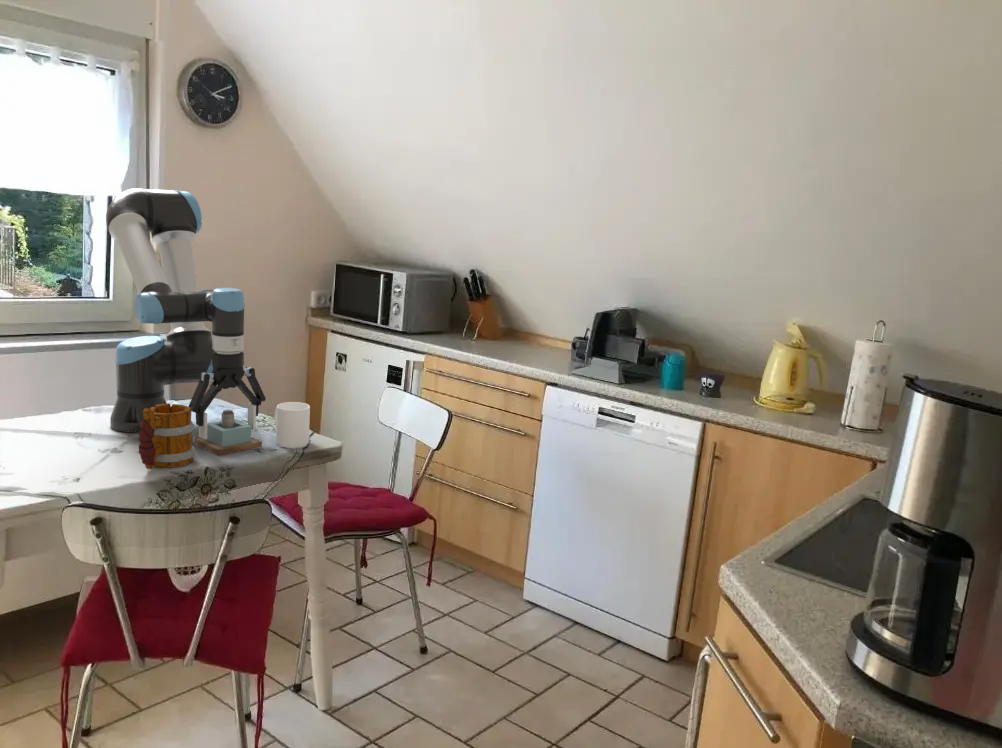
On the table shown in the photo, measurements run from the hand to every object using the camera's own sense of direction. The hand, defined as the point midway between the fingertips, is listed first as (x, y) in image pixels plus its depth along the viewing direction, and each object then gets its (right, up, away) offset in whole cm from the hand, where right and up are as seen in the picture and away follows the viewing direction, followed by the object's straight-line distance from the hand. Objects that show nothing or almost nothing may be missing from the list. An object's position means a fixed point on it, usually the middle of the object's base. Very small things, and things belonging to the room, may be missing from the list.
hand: (227, 433), depth 216 cm
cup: (+14, -3, +7) cm, 16 cm away
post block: (0, -3, +1) cm, 3 cm away
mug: (-10, -6, -16) cm, 20 cm away
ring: (0, -2, 0) cm, 2 cm away
